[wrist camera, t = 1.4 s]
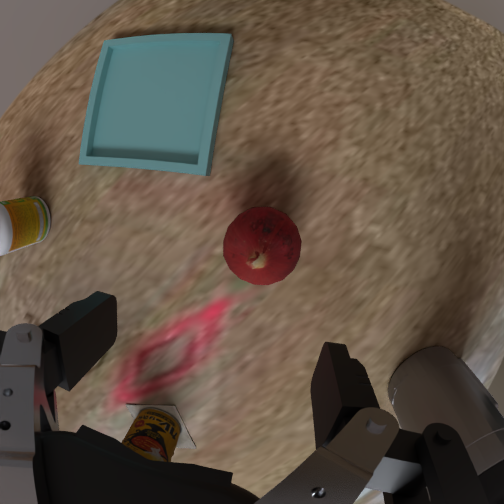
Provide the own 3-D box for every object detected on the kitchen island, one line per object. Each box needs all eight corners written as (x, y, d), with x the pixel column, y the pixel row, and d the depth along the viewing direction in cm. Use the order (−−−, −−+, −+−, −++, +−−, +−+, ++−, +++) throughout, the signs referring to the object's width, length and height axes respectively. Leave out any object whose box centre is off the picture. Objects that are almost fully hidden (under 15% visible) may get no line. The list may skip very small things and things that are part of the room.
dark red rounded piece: (246, 192, 26) (232, 198, 18) (308, 219, 26) (321, 236, 18) (222, 253, 27) (199, 283, 19) (281, 278, 27) (282, 317, 19)
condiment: (174, 404, 32) (141, 478, 20) (196, 447, 34) (174, 516, 22) (125, 403, 33) (85, 466, 21) (150, 445, 35) (122, 506, 23)
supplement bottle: (44, 188, 27) (-20, 197, 18) (57, 233, 28) (-6, 255, 19) (19, 205, 28) (-40, 218, 19) (30, 247, 29) (-27, 269, 20)
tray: (233, 41, 22) (231, 33, 21) (209, 175, 25) (205, 175, 24) (111, 45, 23) (104, 40, 21) (87, 164, 26) (78, 164, 25)
